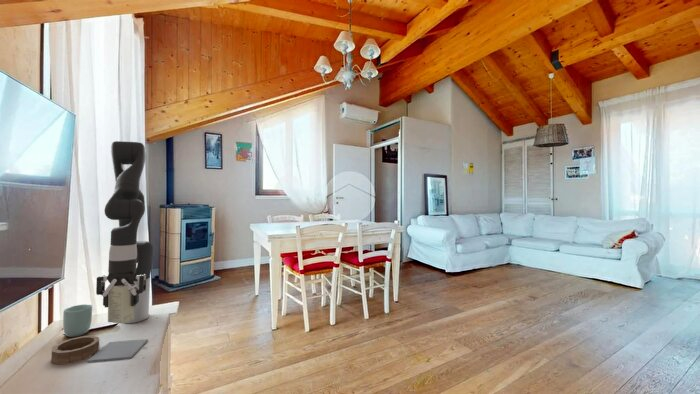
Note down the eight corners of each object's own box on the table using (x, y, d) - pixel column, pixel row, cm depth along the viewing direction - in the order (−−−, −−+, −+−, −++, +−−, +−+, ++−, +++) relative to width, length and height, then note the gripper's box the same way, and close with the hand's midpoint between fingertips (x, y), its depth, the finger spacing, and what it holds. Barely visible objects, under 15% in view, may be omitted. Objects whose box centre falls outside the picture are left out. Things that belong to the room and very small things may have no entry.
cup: (77, 329, 112) (78, 303, 113) (96, 330, 112) (97, 304, 112) (56, 339, 105) (57, 311, 105) (77, 339, 104) (78, 312, 105)
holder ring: (68, 347, 99) (68, 337, 99) (105, 344, 102) (106, 334, 102) (41, 365, 88) (42, 354, 88) (84, 361, 91) (85, 350, 91)
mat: (109, 343, 102) (109, 342, 102) (147, 340, 105) (147, 339, 105) (87, 362, 91) (87, 360, 91) (131, 358, 93) (131, 356, 93)
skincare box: (134, 319, 99) (135, 283, 100) (121, 324, 95) (123, 287, 95) (119, 317, 101) (120, 282, 101) (106, 322, 96) (107, 285, 97)
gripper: (91, 260, 93) (89, 311, 93) (141, 259, 96) (139, 309, 96) (105, 255, 100) (103, 303, 100) (151, 255, 104) (149, 301, 103)
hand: (121, 306), depth 98 cm, fingers closed on skincare box, 7 cm apart
